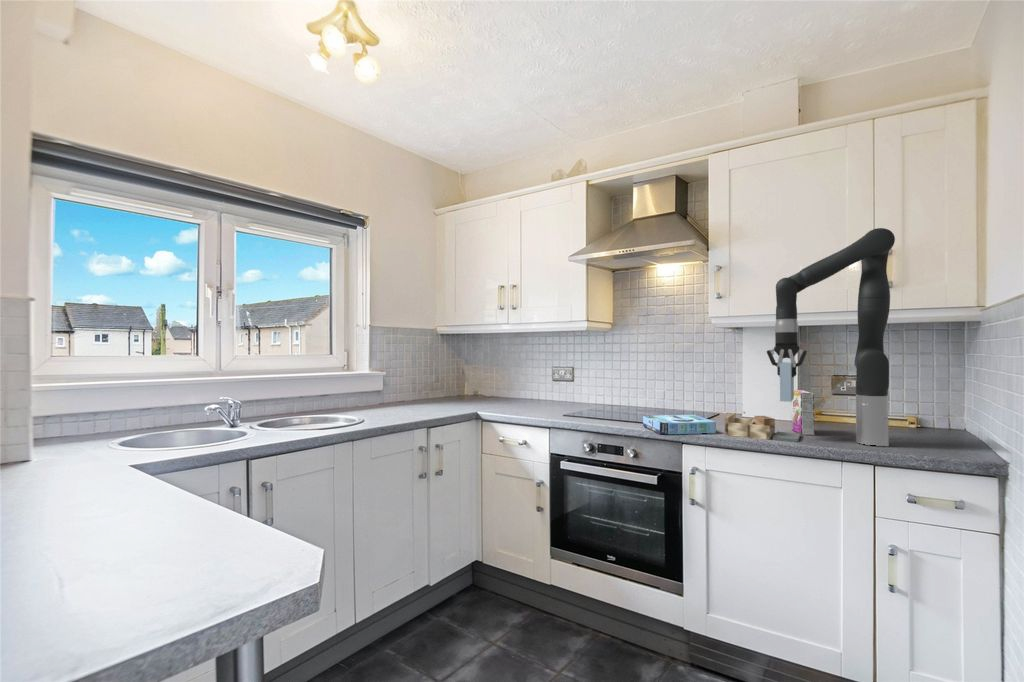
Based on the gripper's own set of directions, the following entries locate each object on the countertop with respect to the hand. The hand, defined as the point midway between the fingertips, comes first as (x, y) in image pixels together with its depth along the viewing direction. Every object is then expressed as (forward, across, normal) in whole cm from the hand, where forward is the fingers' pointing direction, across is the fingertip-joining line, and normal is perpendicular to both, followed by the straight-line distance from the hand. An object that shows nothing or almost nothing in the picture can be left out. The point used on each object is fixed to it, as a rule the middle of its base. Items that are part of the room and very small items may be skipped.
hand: (786, 376), depth 189 cm
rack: (+23, +13, 0) cm, 26 cm away
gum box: (+20, +30, -2) cm, 36 cm away
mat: (+23, 0, 0) cm, 23 cm away
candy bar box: (+23, -4, -15) cm, 28 cm away
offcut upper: (+19, +8, 0) cm, 21 cm away
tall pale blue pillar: (+9, 0, 0) cm, 9 cm away
